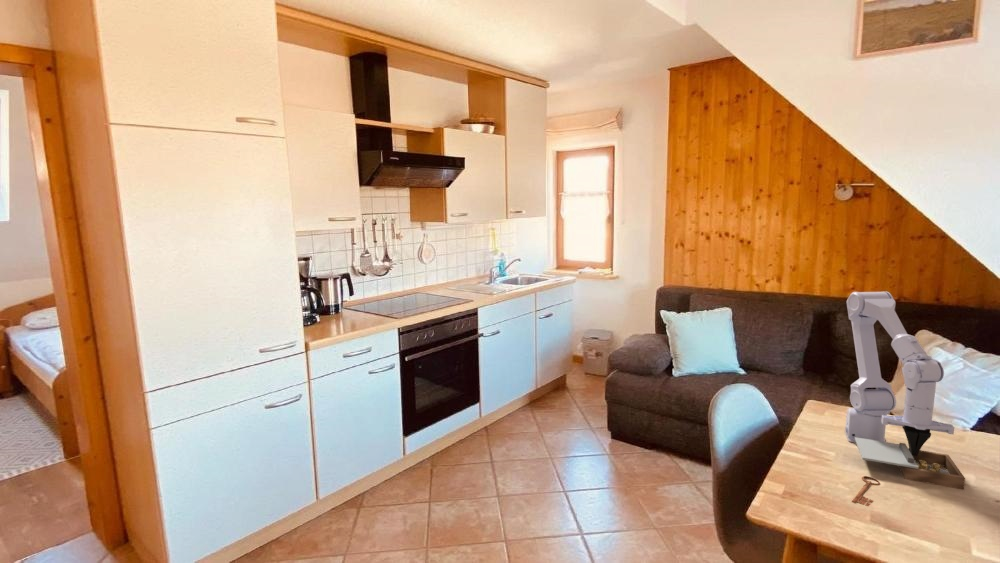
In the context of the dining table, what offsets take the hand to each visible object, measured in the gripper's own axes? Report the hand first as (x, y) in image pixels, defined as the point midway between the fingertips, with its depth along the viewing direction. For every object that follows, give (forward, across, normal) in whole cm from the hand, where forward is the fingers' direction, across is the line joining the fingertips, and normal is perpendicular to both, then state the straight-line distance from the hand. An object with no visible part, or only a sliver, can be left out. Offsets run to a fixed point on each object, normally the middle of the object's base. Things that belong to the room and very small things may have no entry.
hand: (913, 454), depth 133 cm
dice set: (+4, +3, 0) cm, 5 cm away
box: (+4, +3, 0) cm, 5 cm away
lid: (+1, -6, 0) cm, 6 cm away
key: (+5, -12, -17) cm, 21 cm away
